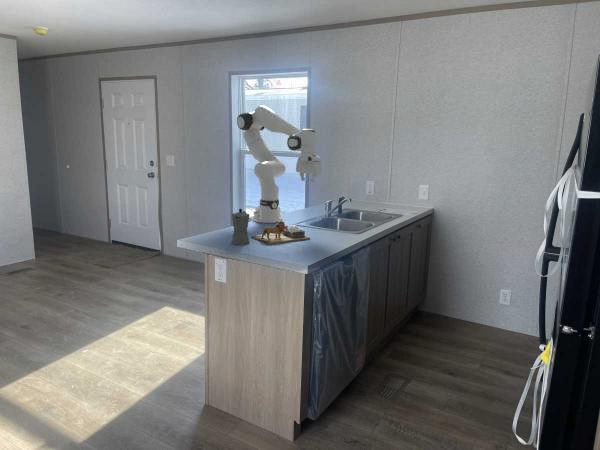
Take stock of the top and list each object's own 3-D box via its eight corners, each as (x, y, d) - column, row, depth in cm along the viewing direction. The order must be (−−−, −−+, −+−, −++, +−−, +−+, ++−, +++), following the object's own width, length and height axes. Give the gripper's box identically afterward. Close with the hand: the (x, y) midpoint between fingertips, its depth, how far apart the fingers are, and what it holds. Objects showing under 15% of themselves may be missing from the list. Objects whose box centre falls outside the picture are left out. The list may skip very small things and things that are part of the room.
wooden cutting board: (251, 237, 241) (251, 230, 240) (290, 232, 255) (290, 225, 254) (269, 245, 225) (269, 237, 225) (310, 239, 240) (310, 232, 239)
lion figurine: (281, 236, 241) (281, 219, 239) (286, 238, 237) (287, 221, 235) (258, 239, 232) (258, 222, 230) (263, 241, 228) (263, 224, 226)
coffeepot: (245, 246, 221) (245, 211, 217) (227, 245, 222) (227, 210, 219) (253, 239, 236) (253, 206, 232) (236, 238, 237) (236, 205, 234)
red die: (277, 232, 255) (277, 225, 254) (282, 231, 258) (282, 224, 257) (283, 233, 252) (283, 226, 251) (287, 232, 256) (287, 225, 255)
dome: (285, 234, 245) (286, 224, 243) (295, 233, 248) (295, 223, 247) (292, 237, 239) (292, 226, 238) (301, 235, 243) (302, 225, 242)
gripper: (293, 156, 261) (293, 179, 264) (314, 158, 245) (313, 183, 248) (302, 156, 265) (301, 179, 268) (323, 158, 248) (322, 182, 251)
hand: (307, 181), depth 257 cm, fingers open, 8 cm apart
